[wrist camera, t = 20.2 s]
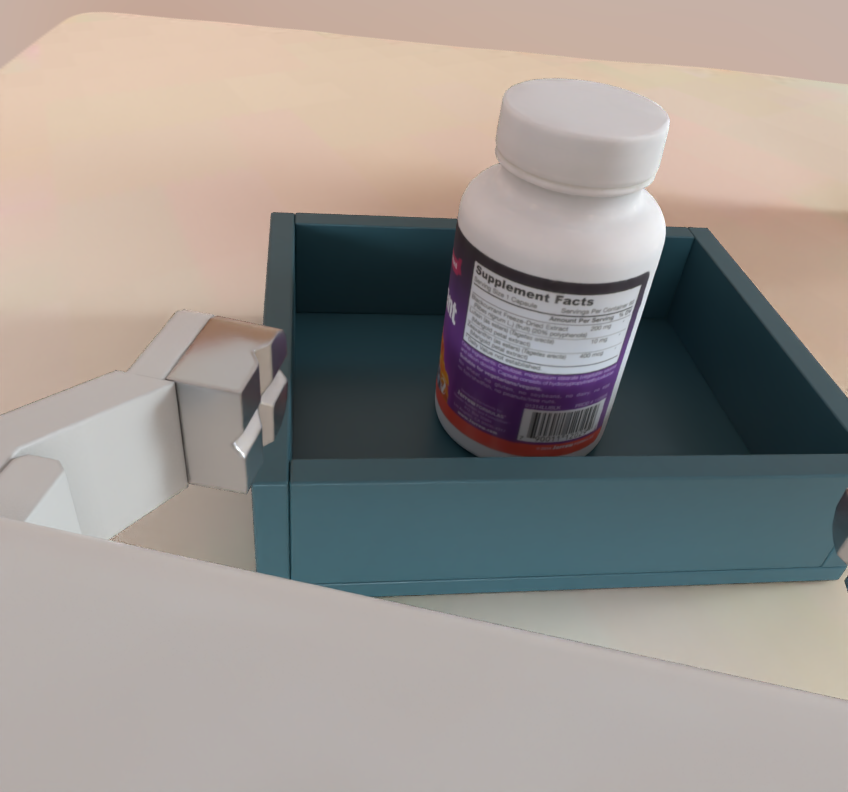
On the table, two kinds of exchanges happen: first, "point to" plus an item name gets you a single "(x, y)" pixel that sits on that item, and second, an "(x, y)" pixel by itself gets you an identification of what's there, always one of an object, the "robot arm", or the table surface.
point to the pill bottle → (551, 270)
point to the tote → (537, 476)
